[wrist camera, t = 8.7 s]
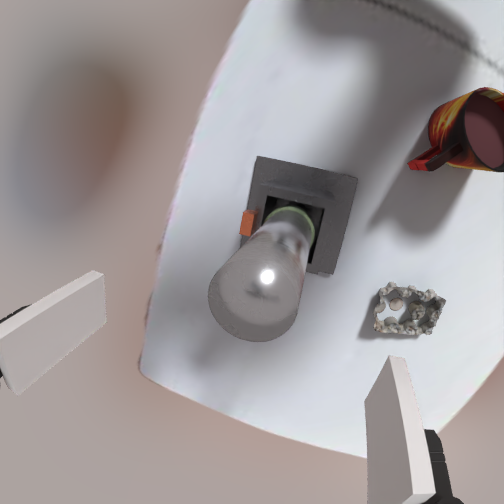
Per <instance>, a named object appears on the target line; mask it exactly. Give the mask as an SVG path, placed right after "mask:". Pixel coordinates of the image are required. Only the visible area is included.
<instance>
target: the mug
mask: <svg viewBox="0 0 504 504" xmlns="http://www.w3.org/2000/svg"><path fill="white" fill-rule="evenodd" d="M428 134H429V140H430V143H431V145H432V148H430V149H429V150H427V151H426V152H424V153H423V154H421V155H420V156H418V157H417V158H415V159H414V160H412V161H411V162H409V163H407V164H408V165H409V167H410V169H411V170H424V171H434V170H436V169H437V168H439V167H440V166H442V165H443V164H445V163H446V164H448V165H450V166H452V167H457V168H465V169H475V170H485V171H493V172H504V93H502V92H500V91H498V90H496V89H493V88H487V87H484V88H479V89H477V90H474V91H472V92H470V93H468V94H465V95H463V96H461V97H458V98H456V99H454V100H452V101H450V102H447V103H445V104H443V105H441V106H439V107H438V108H437V109H436V110H435V111H434V112H433V114H432V115H431V118H430V120H429V125H428ZM435 155H437V156H435ZM434 156H435V157H434ZM433 157H434V158H433ZM431 158H432V159H431ZM430 159H431V160H430Z"/></svg>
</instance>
